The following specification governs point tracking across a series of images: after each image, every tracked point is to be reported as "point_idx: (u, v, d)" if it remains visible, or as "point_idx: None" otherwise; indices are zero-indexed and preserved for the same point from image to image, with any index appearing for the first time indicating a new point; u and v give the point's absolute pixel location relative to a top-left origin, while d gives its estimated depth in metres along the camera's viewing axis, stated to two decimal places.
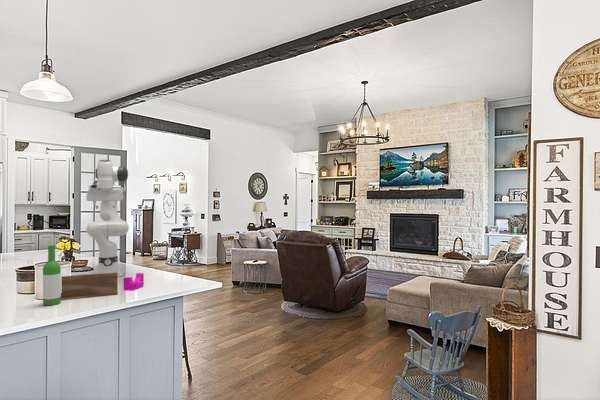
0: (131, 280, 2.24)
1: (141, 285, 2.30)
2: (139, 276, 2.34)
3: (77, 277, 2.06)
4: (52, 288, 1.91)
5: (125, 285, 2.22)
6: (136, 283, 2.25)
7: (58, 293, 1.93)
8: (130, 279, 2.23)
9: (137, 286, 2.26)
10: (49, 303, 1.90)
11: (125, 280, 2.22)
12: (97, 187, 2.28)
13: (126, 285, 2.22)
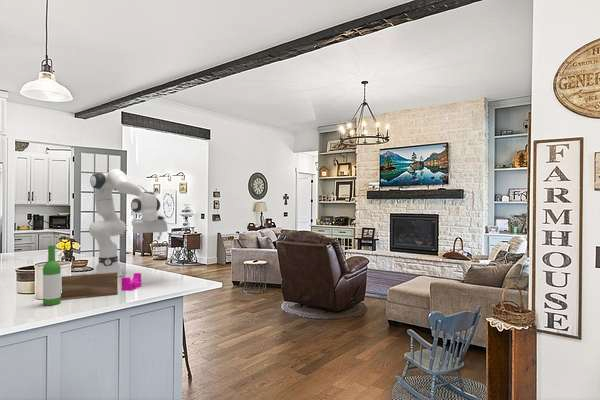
0: (129, 280, 2.24)
1: (139, 285, 2.30)
2: (137, 276, 2.34)
3: (77, 277, 2.06)
4: (52, 288, 1.91)
5: (123, 285, 2.22)
6: (134, 283, 2.24)
7: (58, 293, 1.93)
8: (128, 279, 2.23)
9: (135, 286, 2.25)
10: (49, 303, 1.90)
11: (123, 280, 2.22)
12: None
13: (124, 285, 2.22)
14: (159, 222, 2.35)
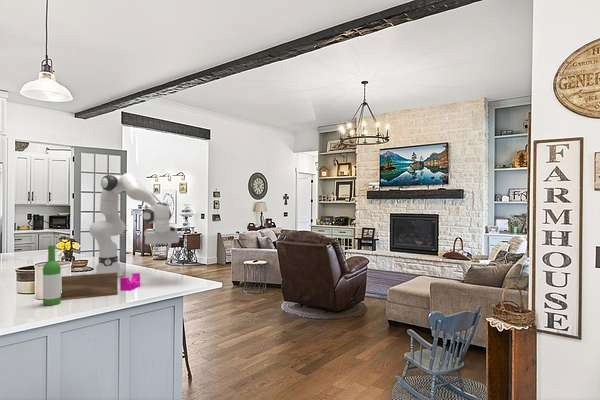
0: (128, 280, 2.24)
1: (138, 285, 2.30)
2: (135, 276, 2.34)
3: (77, 277, 2.06)
4: (52, 288, 1.91)
5: (121, 285, 2.22)
6: (133, 283, 2.24)
7: (58, 293, 1.93)
8: (127, 279, 2.23)
9: (134, 286, 2.25)
10: (49, 303, 1.90)
11: (122, 280, 2.22)
12: None
13: (123, 285, 2.22)
14: (171, 234, 2.36)
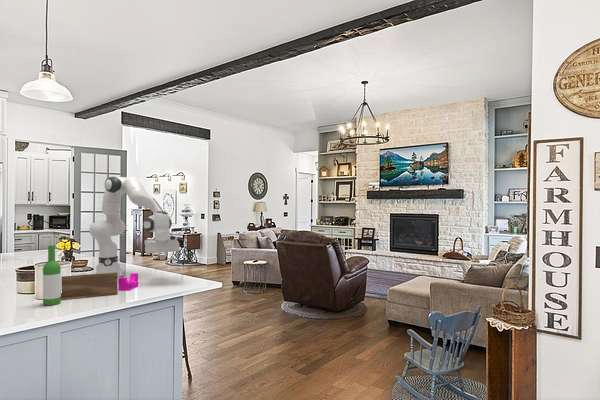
0: (126, 280, 2.23)
1: (136, 285, 2.29)
2: (133, 276, 2.34)
3: (77, 277, 2.06)
4: (52, 288, 1.91)
5: (120, 286, 2.22)
6: (131, 283, 2.24)
7: (58, 293, 1.93)
8: (125, 279, 2.22)
9: (132, 286, 2.25)
10: (49, 303, 1.90)
11: (120, 280, 2.21)
12: None
13: (121, 285, 2.21)
14: (172, 242, 2.36)
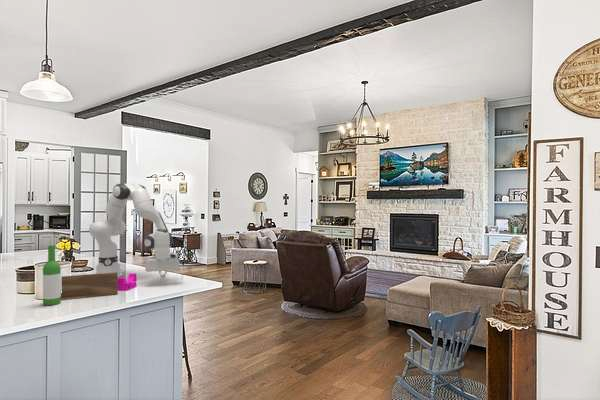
0: (125, 280, 2.23)
1: (134, 285, 2.29)
2: (132, 276, 2.34)
3: (77, 277, 2.06)
4: (52, 288, 1.91)
5: (118, 286, 2.21)
6: (130, 283, 2.24)
7: (58, 293, 1.93)
8: (124, 279, 2.22)
9: (131, 286, 2.25)
10: (49, 303, 1.90)
11: (119, 280, 2.21)
12: None
13: (120, 285, 2.21)
14: (172, 260, 2.36)
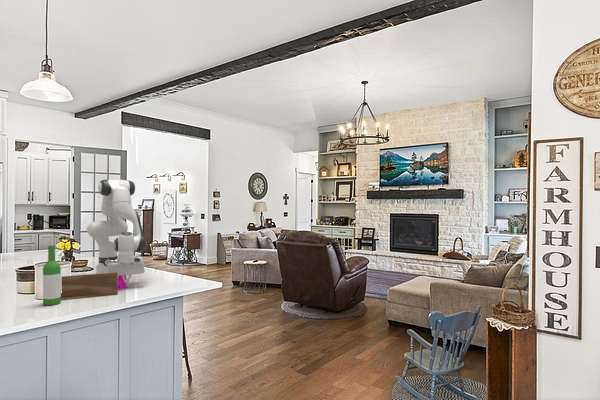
0: None
1: (124, 286, 2.28)
2: None
3: (77, 277, 2.06)
4: (52, 288, 1.91)
5: None
6: (120, 284, 2.23)
7: (58, 293, 1.93)
8: None
9: (121, 287, 2.24)
10: (49, 303, 1.90)
11: None
12: None
13: None
14: (136, 264, 2.28)
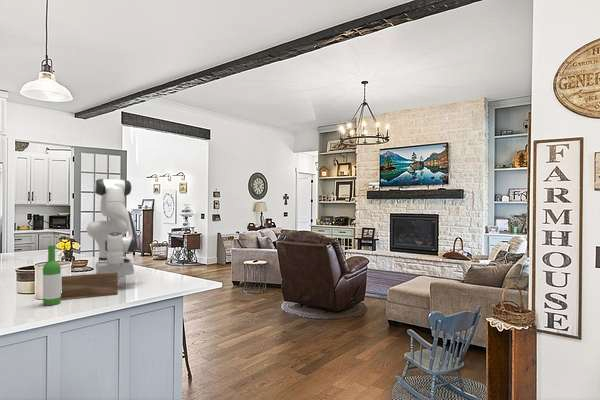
0: None
1: None
2: None
3: (77, 277, 2.06)
4: (52, 288, 1.91)
5: None
6: None
7: (58, 293, 1.93)
8: None
9: None
10: (49, 303, 1.90)
11: None
12: None
13: None
14: (125, 265, 2.25)
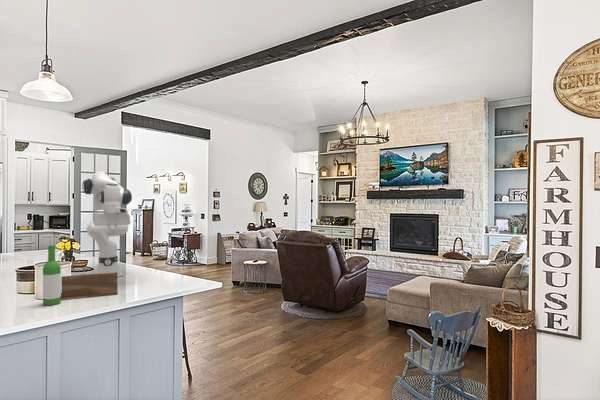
0: None
1: None
2: None
3: (77, 277, 2.06)
4: (52, 288, 1.91)
5: None
6: None
7: (58, 293, 1.93)
8: None
9: None
10: (49, 303, 1.90)
11: None
12: None
13: None
14: (122, 215, 2.32)
